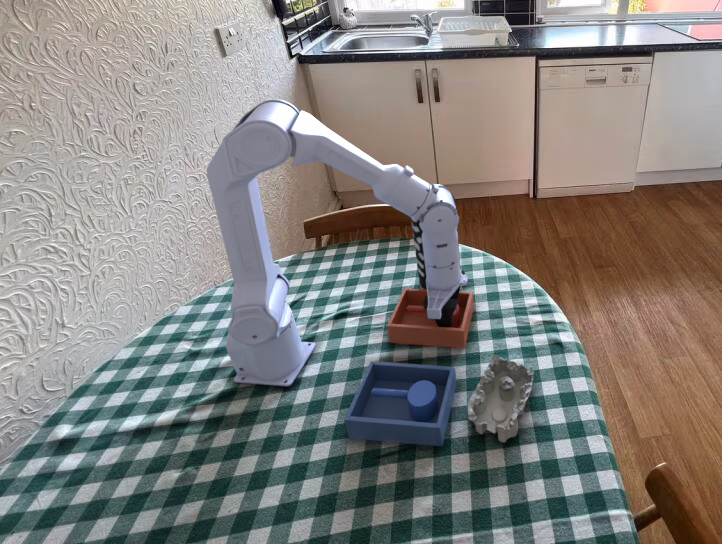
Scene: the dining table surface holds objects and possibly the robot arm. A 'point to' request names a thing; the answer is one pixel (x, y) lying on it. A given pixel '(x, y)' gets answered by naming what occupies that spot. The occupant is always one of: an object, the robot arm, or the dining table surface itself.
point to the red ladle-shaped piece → (421, 309)
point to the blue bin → (400, 404)
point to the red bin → (428, 322)
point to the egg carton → (500, 397)
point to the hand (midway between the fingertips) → (448, 317)
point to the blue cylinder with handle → (415, 399)
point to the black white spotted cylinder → (419, 250)
